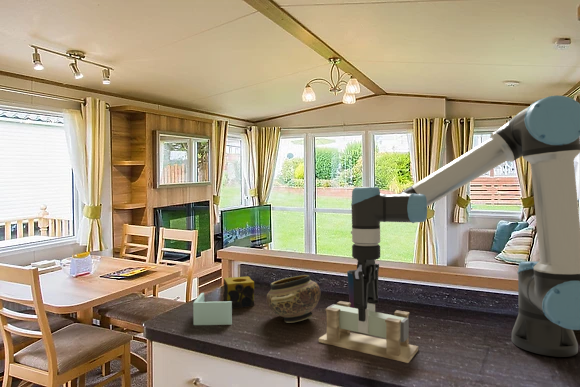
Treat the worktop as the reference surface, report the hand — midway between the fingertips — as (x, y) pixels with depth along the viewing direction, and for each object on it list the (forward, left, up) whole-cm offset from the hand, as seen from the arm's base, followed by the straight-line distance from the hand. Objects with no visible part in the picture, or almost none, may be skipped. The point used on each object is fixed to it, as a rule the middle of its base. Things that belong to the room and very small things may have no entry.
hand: (366, 329), depth 104 cm
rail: (0, 0, 0) cm, 1 cm away
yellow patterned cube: (+54, -9, -5) cm, 55 cm away
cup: (+12, -22, -5) cm, 25 cm away
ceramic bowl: (+28, -7, -5) cm, 29 cm away
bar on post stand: (0, 0, -4) cm, 4 cm away
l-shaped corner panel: (+51, +6, -5) cm, 51 cm away
